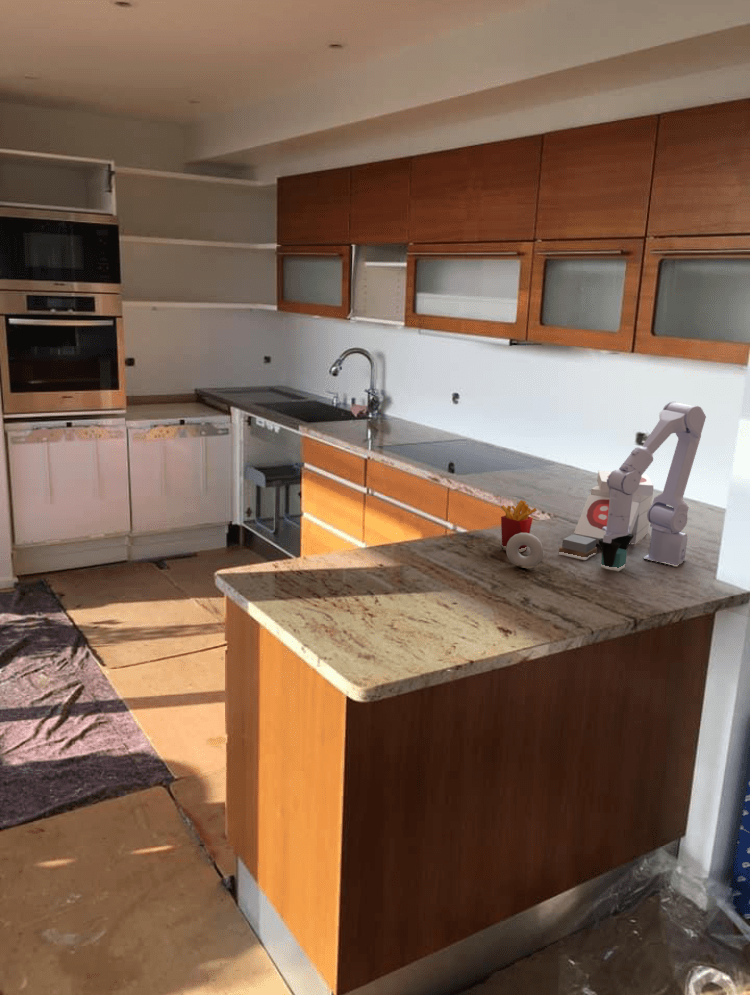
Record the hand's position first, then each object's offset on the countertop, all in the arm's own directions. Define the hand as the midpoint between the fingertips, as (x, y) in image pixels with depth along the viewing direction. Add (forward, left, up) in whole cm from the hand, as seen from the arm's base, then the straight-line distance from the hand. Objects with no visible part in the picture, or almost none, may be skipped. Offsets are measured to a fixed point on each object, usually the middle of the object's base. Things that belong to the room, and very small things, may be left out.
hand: (613, 562), depth 228 cm
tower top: (+12, -4, +1) cm, 13 cm away
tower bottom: (+12, -4, -2) cm, 13 cm away
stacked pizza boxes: (+10, -26, -2) cm, 28 cm away
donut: (+18, +18, -2) cm, 26 cm away
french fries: (+26, +5, -2) cm, 27 cm away
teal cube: (0, 0, -2) cm, 2 cm away
